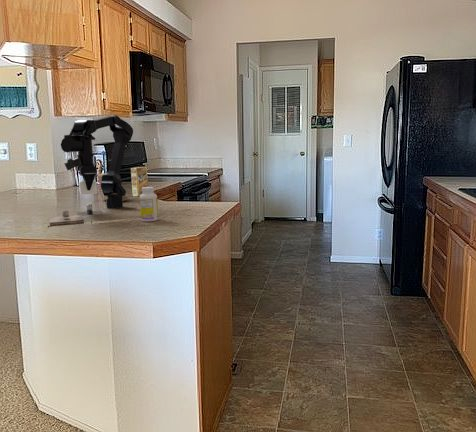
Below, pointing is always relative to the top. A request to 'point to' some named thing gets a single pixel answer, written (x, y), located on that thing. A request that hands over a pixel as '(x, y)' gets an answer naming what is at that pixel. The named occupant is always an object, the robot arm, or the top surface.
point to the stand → (89, 211)
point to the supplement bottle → (148, 205)
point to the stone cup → (116, 193)
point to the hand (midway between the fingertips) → (88, 189)
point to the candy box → (139, 180)
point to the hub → (66, 219)
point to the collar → (84, 189)
